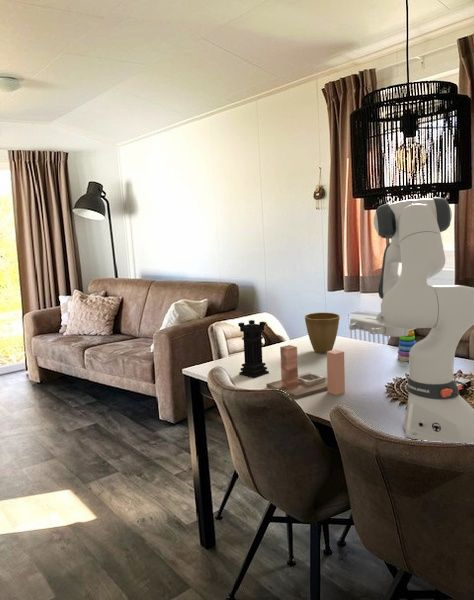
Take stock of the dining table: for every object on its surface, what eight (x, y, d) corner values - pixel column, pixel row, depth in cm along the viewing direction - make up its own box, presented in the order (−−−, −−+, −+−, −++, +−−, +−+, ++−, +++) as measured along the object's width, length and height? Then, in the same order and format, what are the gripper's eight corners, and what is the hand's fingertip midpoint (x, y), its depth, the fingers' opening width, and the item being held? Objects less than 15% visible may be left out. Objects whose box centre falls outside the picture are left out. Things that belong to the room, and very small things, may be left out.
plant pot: (299, 350, 231) (298, 314, 229) (329, 346, 236) (328, 311, 233) (315, 358, 217) (314, 320, 215) (346, 353, 222) (346, 316, 220)
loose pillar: (344, 392, 173) (344, 351, 171) (336, 395, 171) (335, 353, 169) (336, 389, 177) (335, 349, 175) (327, 392, 175) (326, 351, 172)
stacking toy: (415, 356, 212) (415, 311, 209) (420, 361, 204) (420, 314, 202) (395, 356, 213) (395, 311, 210) (399, 362, 205) (399, 315, 202)
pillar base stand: (340, 385, 180) (339, 342, 178) (296, 398, 170) (294, 353, 167) (309, 375, 194) (308, 335, 191) (266, 387, 183) (264, 344, 181)
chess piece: (239, 374, 199) (236, 323, 196) (253, 369, 205) (251, 319, 202) (254, 378, 194) (252, 325, 191) (268, 373, 199) (266, 321, 196)
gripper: (366, 311, 193) (338, 316, 186) (411, 318, 176) (384, 324, 169) (366, 327, 194) (339, 333, 187) (411, 336, 177) (384, 343, 170)
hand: (360, 329), depth 178 cm, fingers open, 8 cm apart
